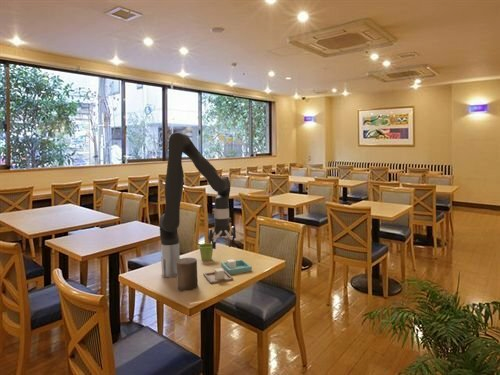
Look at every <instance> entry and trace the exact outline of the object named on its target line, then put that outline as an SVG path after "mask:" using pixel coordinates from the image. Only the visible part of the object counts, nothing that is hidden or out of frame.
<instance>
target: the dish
mask: <svg viewBox="0 0 500 375" xmlns="http://www.w3.org/2000/svg"><path fill="white" fill-rule="evenodd" d="M235 261H236V268H235V269H229V268H228V267H227V261H224V262H223V261H221V263H220V264H221V265H220V266H221V267H220V268H223V270H226V271H227V272H228V273H229V274H230V275H235V274H241V273H247V272H248V273H249V272H252V271H253V270H252V266H251V265H250V264H249V263H248V262H247V261H246V260H244V259H238V260H235Z"/></svg>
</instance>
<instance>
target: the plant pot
mask: <svg viewBox="0 0 500 375" xmlns="http://www.w3.org/2000/svg"><path fill="white" fill-rule="evenodd" d="M198 249H199V250H200V251H199V253H200V258H201V260H202V261H203V262H204V261H205V262H207V261H208V262H209V261H211V260H213V251H214V249H213V248H212V243H209V242H208V243H201V244H198Z"/></svg>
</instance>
